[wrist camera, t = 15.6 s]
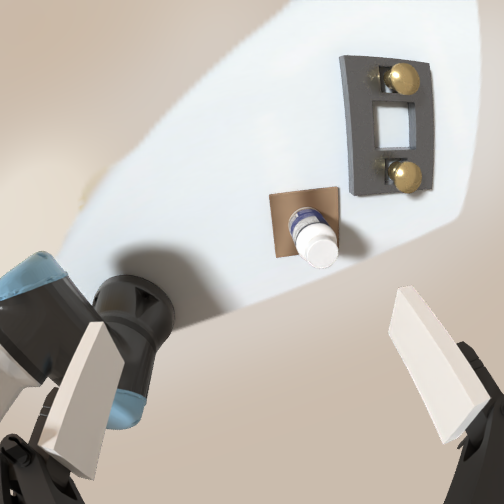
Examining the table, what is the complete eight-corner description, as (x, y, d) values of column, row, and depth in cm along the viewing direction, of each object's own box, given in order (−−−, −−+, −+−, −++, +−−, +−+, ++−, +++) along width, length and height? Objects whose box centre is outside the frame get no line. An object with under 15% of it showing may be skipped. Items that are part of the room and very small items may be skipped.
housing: (349, 191, 43) (354, 195, 41) (339, 57, 33) (343, 55, 31) (425, 185, 42) (431, 188, 41) (422, 63, 33) (429, 63, 31)
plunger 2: (383, 186, 40) (395, 194, 37) (383, 157, 38) (396, 163, 35) (408, 184, 40) (421, 192, 37) (408, 156, 38) (422, 162, 35)
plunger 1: (380, 93, 34) (393, 94, 30) (377, 63, 32) (390, 61, 28) (406, 95, 34) (421, 96, 30) (404, 66, 32) (418, 64, 28)
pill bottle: (327, 231, 45) (348, 264, 36) (295, 245, 46) (309, 280, 37) (316, 200, 42) (337, 227, 34) (282, 214, 43) (294, 245, 35)
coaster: (275, 255, 47) (276, 257, 47) (268, 194, 42) (269, 195, 42) (337, 246, 47) (338, 248, 46) (336, 186, 42) (337, 187, 42)
